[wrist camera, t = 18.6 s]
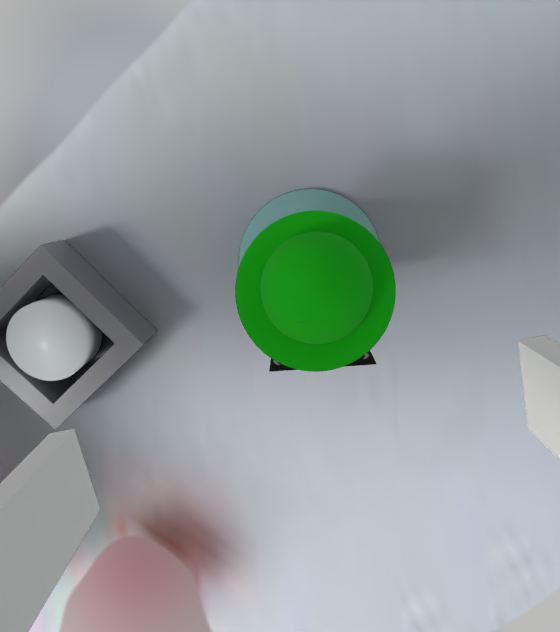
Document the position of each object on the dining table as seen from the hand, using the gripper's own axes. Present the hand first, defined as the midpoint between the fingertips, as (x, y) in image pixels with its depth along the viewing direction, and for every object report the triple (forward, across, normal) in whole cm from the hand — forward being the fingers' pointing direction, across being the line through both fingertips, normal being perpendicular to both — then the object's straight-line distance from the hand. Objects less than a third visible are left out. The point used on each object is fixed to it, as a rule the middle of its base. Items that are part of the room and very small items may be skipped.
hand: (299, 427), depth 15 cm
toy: (+27, +2, +1) cm, 27 cm away
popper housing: (+27, -18, 0) cm, 33 cm away
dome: (+26, -18, 0) cm, 32 cm away
